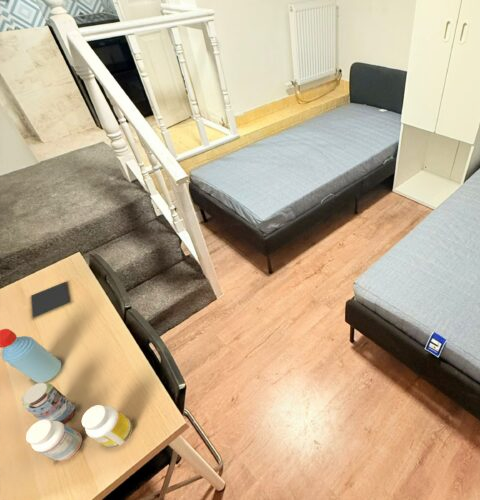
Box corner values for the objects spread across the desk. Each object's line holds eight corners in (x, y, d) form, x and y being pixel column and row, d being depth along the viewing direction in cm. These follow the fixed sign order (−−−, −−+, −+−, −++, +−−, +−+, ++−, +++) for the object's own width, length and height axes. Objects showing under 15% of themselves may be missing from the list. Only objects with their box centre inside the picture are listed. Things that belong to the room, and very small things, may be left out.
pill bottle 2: (133, 414, 82) (110, 395, 74) (133, 441, 78) (109, 424, 70) (104, 425, 81) (78, 407, 72) (103, 453, 76) (75, 437, 68)
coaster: (33, 317, 104) (32, 316, 104) (32, 296, 110) (31, 295, 110) (69, 302, 108) (68, 301, 107) (66, 282, 114) (65, 281, 113)
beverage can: (54, 436, 79) (20, 418, 71) (46, 412, 83) (14, 393, 75) (82, 417, 82) (53, 397, 74) (74, 395, 86) (45, 374, 78)
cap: (-5, 349, 78) (-12, 344, 77) (2, 335, 81) (-5, 330, 79) (13, 345, 79) (6, 340, 77) (19, 332, 82) (12, 327, 80)
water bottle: (29, 385, 88) (-21, 352, 76) (38, 362, 93) (-8, 327, 81) (57, 379, 89) (12, 345, 77) (64, 356, 94) (23, 321, 82)
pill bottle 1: (54, 440, 79) (22, 424, 71) (82, 427, 80) (55, 410, 73) (52, 467, 75) (19, 452, 67) (83, 452, 77) (53, 437, 69)
